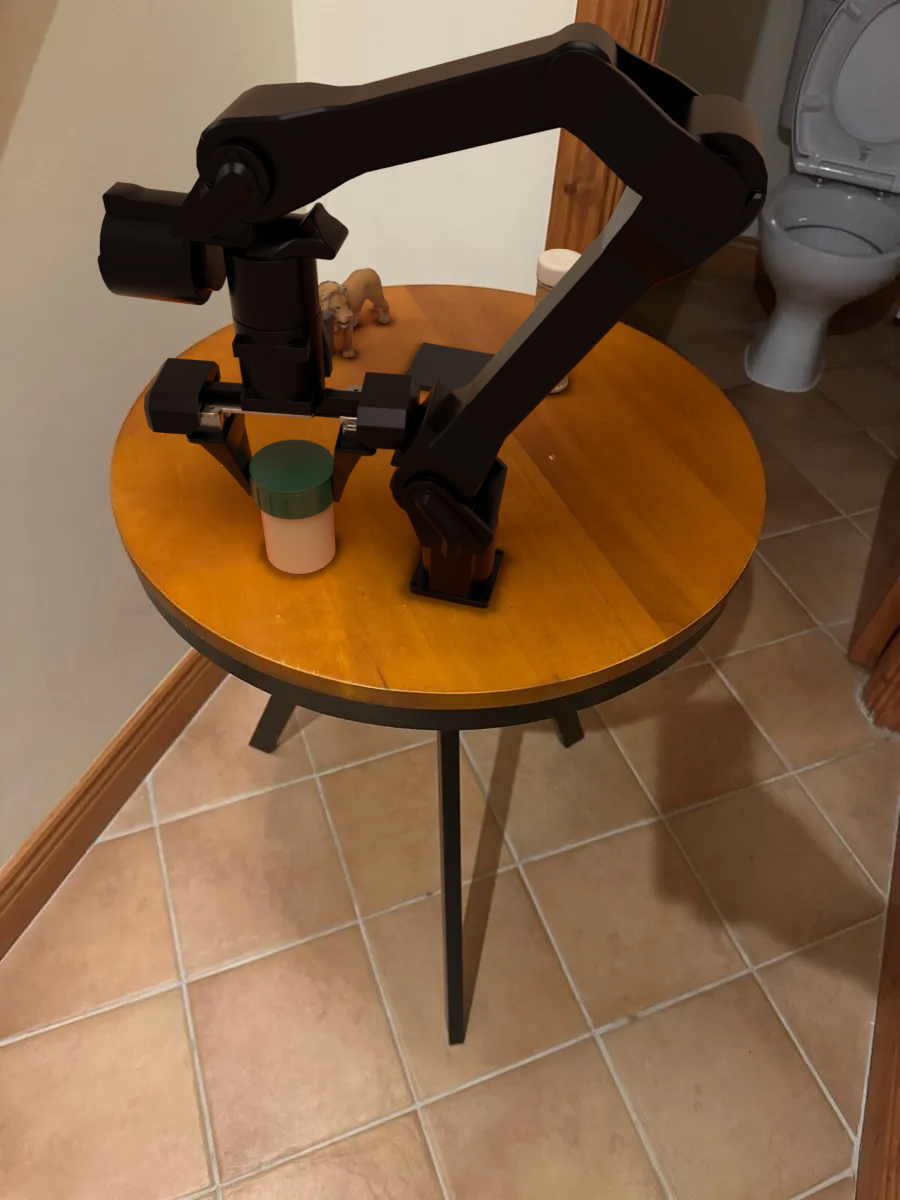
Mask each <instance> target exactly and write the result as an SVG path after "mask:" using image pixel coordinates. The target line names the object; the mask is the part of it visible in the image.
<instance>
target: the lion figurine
mask: <svg viewBox="0 0 900 1200" xmlns="http://www.w3.org/2000/svg"><path fill="white" fill-rule="evenodd" d="M318 286H319V300H320V305H321V310H328V311H333V312H334V337H338V336H340V335H342V337H343V341H342V356H343V357H344V358H345V359H351V358H354V357H355V351H354V344H353V335H354V327H355V326H357V324H358V321H359V318H360V316H361V314H362V311H363V306H364V305H365V302H366V300H368V301H369V302H371V303H372V305H373V308H376V309H380V310H381V311H382V313H381V314H380V316H379V317H378V320H379V322H380V324H389V323H390V321H391V317H390V316H391V315H390V304H389V302H388V300H387V299H386V298H385V296H384V291H383V284H382V281H381V277H380V275H379V274H378V272H377V271H376V270H375V269H373V268H370V267H364V268H359V269H355V270H353V271H351V273H350V274H349V276H348V277H347V278H346V279H345V280H344V281H343V282H342V283H341V284H340V283H338V282H337V281H335V280H329V279H327V280H326V281H322V282H320V283H318Z"/></svg>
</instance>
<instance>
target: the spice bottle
mask: <svg viewBox="0 0 900 1200" xmlns="http://www.w3.org/2000/svg"><path fill="white" fill-rule="evenodd" d="M581 255H582V254H581V253H579V252H577V251H574V250H571V249H567V248H552V249H548V250H545V251H543V252H542V253H540V254H539V256H538V257H537V262H536V271H535V276H536V287H535V295H534V296H535V297H534V302H533V303H534V304H533V310H534V309H535V308H536V307H537V306H538V305H539V304H540V303H541V301H542V300H543V299H544V298H545V297H546V296H547V294H548V293H549V292H550V291H551V290H552V289H553V288H554V286H555V285H556V284H557V283H558V282H559V281H560V279H561V278H562V277H563V276H564V275H565V274H566V273H567V271H568V270H569V269H570V268H571V267H572V266H573V264H574V263H575V262H576V261H577V260H578V259H579V258H580V256H581ZM568 384H569V374H568V375H567V376H566V377H565V378H564V379H563V380H562V381H561V382H560V383H559V384H558V385H557V386H556V387H555V388H554V389H553V390H552V391H551V392H550V393H549V394H557V393H559V392H563V390H565V389H566V388H567V386H568Z"/></svg>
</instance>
